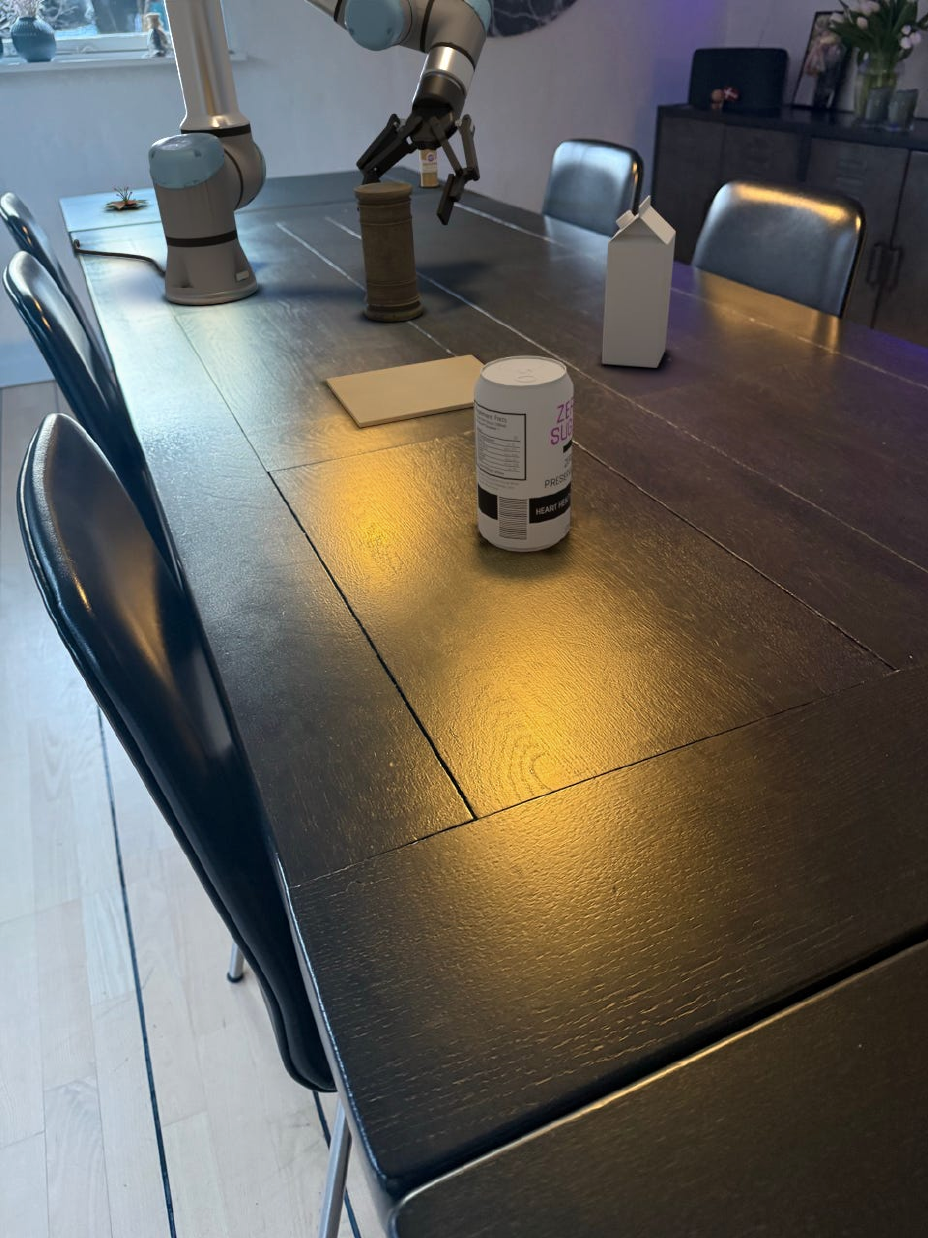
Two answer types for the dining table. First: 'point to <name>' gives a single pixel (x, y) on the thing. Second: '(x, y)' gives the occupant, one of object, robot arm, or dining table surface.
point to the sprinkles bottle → (428, 168)
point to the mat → (408, 390)
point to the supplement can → (523, 452)
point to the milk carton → (638, 289)
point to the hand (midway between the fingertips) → (401, 217)
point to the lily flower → (124, 201)
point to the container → (388, 251)
